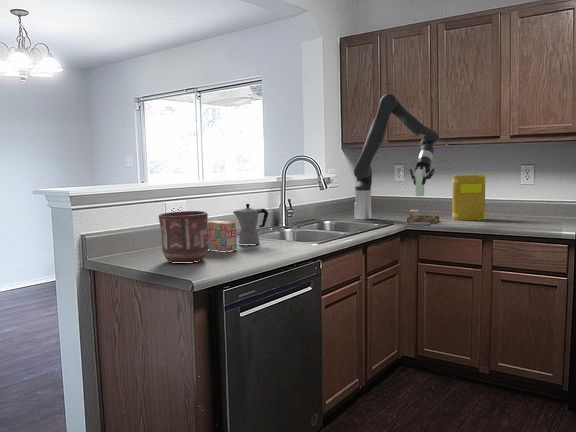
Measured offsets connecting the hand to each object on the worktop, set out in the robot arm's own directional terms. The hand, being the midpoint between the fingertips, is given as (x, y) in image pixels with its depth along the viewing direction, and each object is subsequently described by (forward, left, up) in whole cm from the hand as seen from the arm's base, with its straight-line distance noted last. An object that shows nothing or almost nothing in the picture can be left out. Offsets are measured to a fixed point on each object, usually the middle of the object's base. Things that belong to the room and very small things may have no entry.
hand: (418, 183), depth 273 cm
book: (+20, +30, -22) cm, 42 cm away
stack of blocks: (-60, -102, -22) cm, 120 cm away
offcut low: (-6, +13, -21) cm, 25 cm away
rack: (-1, +13, -22) cm, 25 cm away
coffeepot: (-52, -84, -22) cm, 101 cm away
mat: (0, +2, -22) cm, 22 cm away
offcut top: (-6, +13, -18) cm, 23 cm away
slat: (0, +2, -7) cm, 7 cm away
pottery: (-55, -125, -22) cm, 139 cm away
